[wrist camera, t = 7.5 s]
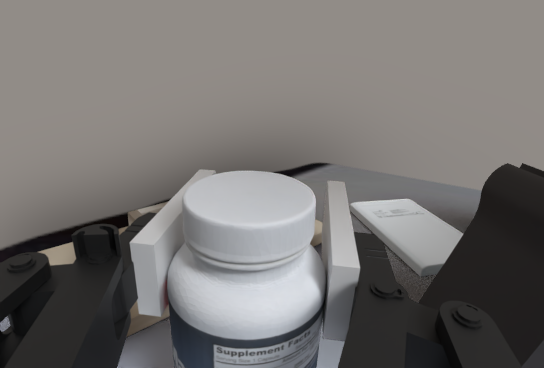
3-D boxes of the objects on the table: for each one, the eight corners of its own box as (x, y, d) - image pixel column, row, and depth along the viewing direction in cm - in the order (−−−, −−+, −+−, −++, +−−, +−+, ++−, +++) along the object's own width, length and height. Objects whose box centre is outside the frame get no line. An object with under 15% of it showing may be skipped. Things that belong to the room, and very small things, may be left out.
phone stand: (455, 449, 16) (549, 220, 11) (391, 345, 21) (437, 163, 17) (609, 421, 18) (742, 213, 13) (513, 331, 23) (585, 163, 19)
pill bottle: (179, 350, 16) (164, 165, 12) (290, 333, 17) (304, 160, 13) (176, 487, 11) (149, 246, 7) (331, 451, 12) (370, 228, 9)
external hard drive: (418, 282, 28) (347, 214, 39) (495, 270, 31) (408, 209, 42) (422, 266, 28) (350, 201, 39) (501, 255, 30) (411, 197, 41)
